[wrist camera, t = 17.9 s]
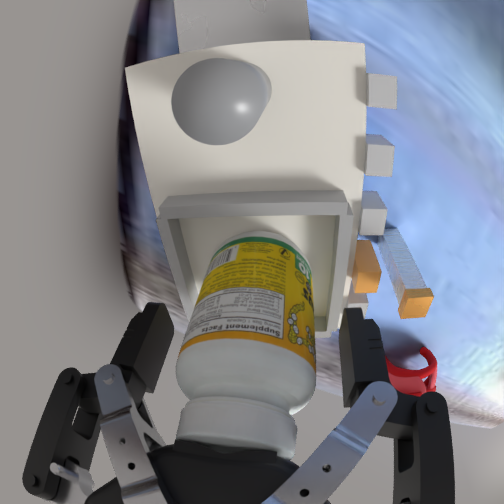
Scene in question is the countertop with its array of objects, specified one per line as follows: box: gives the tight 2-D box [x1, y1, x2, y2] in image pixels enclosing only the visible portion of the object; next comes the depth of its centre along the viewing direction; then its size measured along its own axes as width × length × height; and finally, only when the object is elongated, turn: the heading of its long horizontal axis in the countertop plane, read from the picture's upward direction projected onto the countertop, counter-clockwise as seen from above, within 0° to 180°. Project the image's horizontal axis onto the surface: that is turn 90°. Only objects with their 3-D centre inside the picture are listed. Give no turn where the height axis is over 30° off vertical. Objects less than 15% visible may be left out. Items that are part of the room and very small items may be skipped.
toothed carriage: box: [125, 40, 397, 338], centre depth 12 cm, size 16×11×6 cm
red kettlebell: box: [385, 347, 437, 397], centre depth 22 cm, size 8×6×6 cm
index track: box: [174, 0, 434, 319], centre depth 12 cm, size 24×12×6 cm, turn 5°
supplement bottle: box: [176, 231, 316, 460], centre depth 12 cm, size 5×5×10 cm
